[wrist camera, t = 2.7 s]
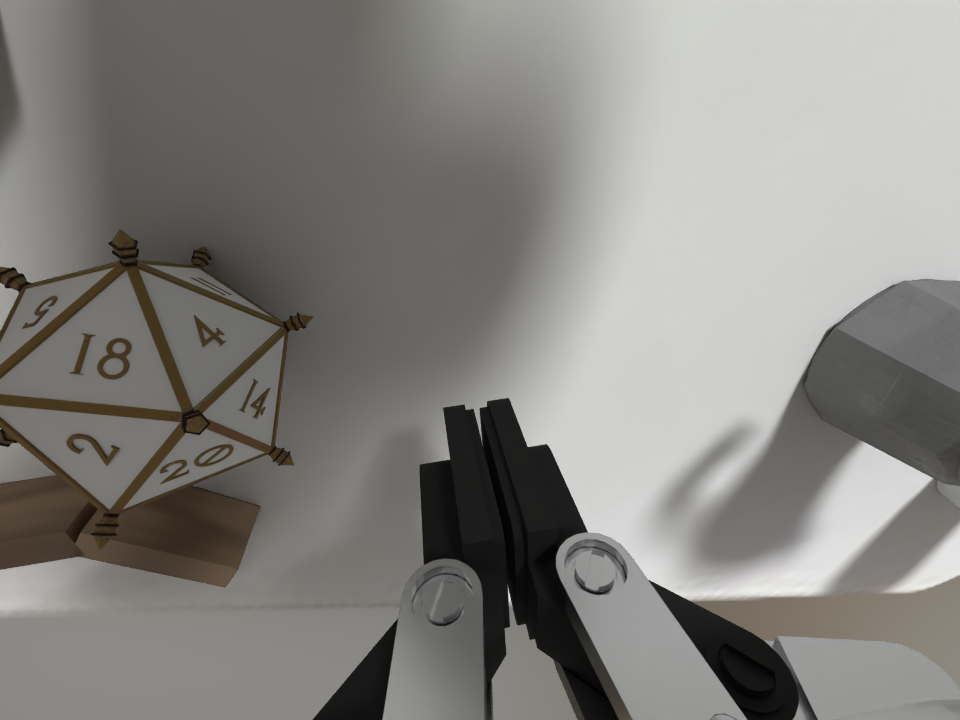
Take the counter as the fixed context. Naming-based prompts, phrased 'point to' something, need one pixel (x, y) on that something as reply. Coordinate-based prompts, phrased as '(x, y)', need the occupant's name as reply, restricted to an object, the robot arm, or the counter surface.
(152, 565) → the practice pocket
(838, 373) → the coffeepot
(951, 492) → the coffee cup
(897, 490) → the counter surface
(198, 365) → the game die
